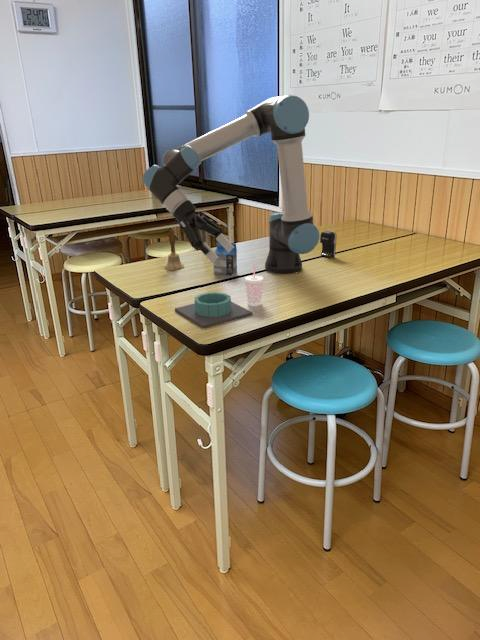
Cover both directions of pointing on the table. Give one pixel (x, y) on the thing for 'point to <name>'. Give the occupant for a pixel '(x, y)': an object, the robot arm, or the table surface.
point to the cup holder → (212, 310)
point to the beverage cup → (254, 288)
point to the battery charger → (328, 243)
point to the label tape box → (225, 260)
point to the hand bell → (173, 255)
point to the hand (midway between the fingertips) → (223, 255)
